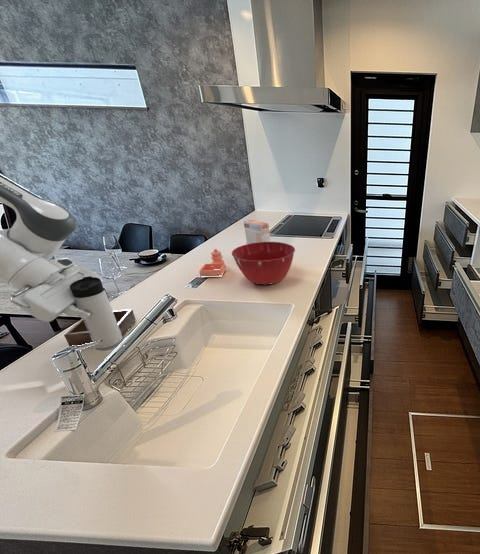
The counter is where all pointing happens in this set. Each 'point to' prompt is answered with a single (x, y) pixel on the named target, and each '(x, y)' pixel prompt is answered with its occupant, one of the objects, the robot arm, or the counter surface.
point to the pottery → (213, 265)
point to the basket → (82, 336)
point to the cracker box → (256, 231)
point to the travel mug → (97, 312)
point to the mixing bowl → (264, 261)
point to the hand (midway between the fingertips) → (98, 309)
